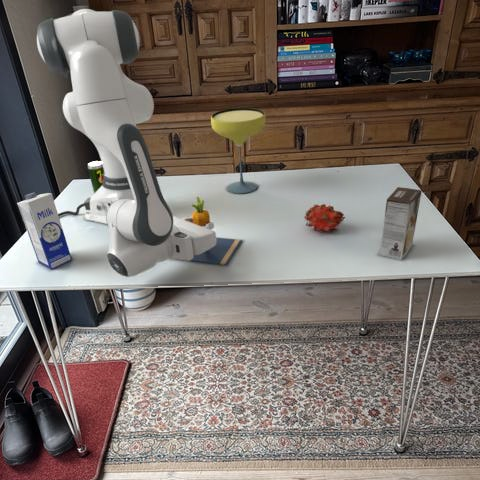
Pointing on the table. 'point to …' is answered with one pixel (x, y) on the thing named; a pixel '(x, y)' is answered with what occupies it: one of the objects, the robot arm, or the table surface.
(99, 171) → the beer can
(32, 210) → the milk carton
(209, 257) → the napkin
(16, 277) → the table surface
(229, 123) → the cocktail glass
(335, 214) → the dragon fruit
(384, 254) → the coffee box
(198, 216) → the carrot
